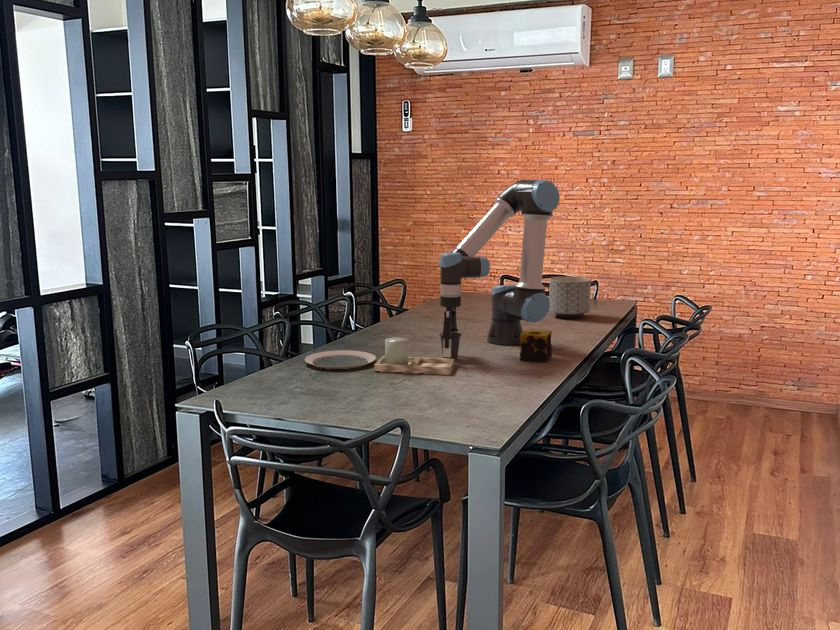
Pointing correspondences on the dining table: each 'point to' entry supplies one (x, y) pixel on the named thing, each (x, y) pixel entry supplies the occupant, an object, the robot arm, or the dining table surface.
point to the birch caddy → (418, 366)
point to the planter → (570, 296)
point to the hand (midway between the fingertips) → (449, 353)
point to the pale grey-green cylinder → (396, 351)
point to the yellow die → (535, 346)
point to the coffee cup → (453, 344)
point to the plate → (320, 355)
